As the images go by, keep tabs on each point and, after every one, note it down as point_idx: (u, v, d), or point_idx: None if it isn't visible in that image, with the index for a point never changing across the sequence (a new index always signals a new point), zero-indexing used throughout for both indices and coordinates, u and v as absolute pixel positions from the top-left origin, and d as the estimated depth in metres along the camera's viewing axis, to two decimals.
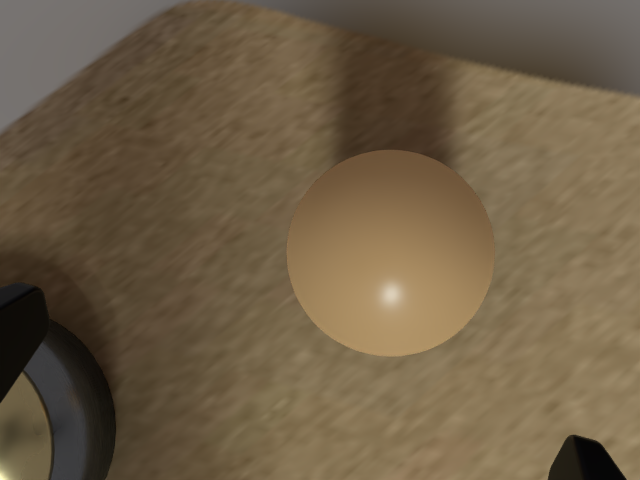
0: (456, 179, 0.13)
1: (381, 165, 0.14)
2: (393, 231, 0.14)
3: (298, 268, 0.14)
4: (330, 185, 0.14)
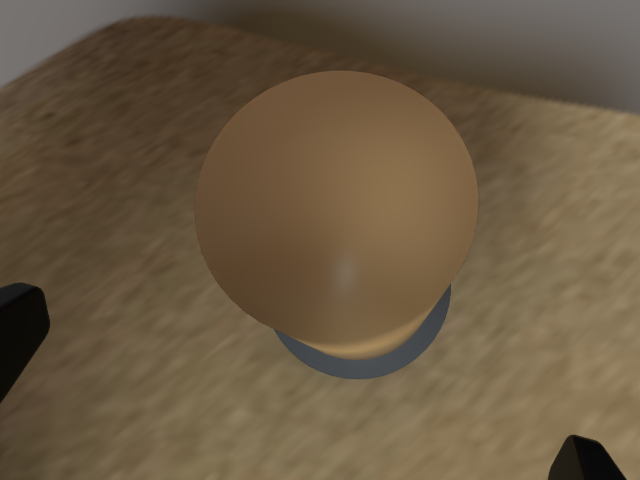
0: (423, 103, 0.10)
1: (326, 89, 0.10)
2: (340, 170, 0.10)
3: (210, 221, 0.10)
4: (258, 115, 0.11)
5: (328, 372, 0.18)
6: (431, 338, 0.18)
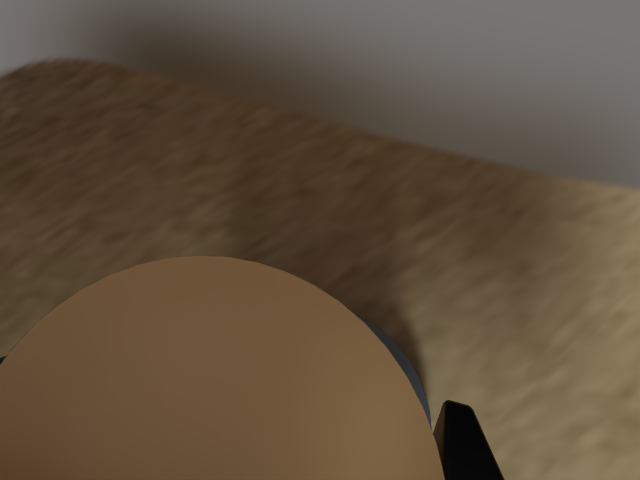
0: (352, 327, 0.06)
1: (184, 292, 0.06)
2: (199, 454, 0.06)
3: None
4: (66, 336, 0.06)
5: None
6: None
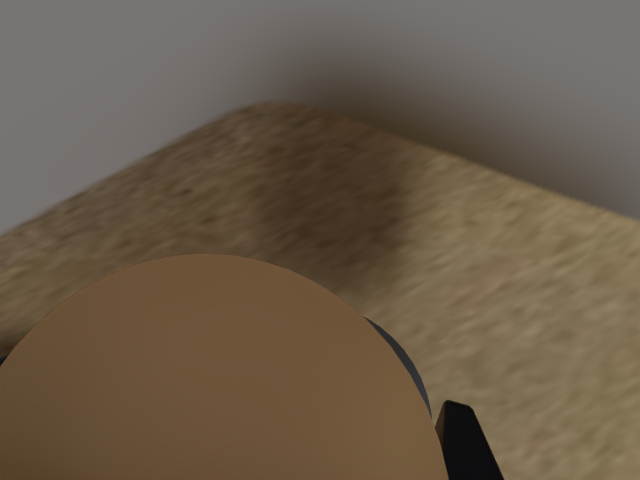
0: (355, 325, 0.06)
1: (187, 289, 0.06)
2: (202, 451, 0.06)
3: None
4: (68, 333, 0.06)
5: None
6: None
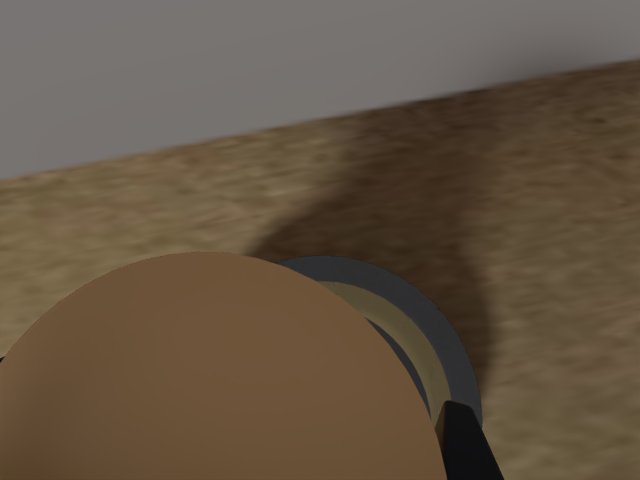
0: (353, 323, 0.06)
1: (185, 288, 0.06)
2: (200, 450, 0.06)
3: None
4: (67, 332, 0.06)
5: None
6: None
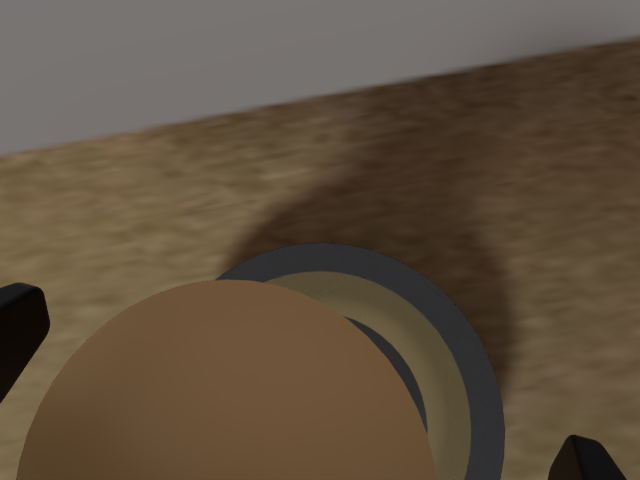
0: (358, 341, 0.07)
1: (215, 310, 0.07)
2: (231, 447, 0.07)
3: None
4: (115, 347, 0.07)
5: None
6: None
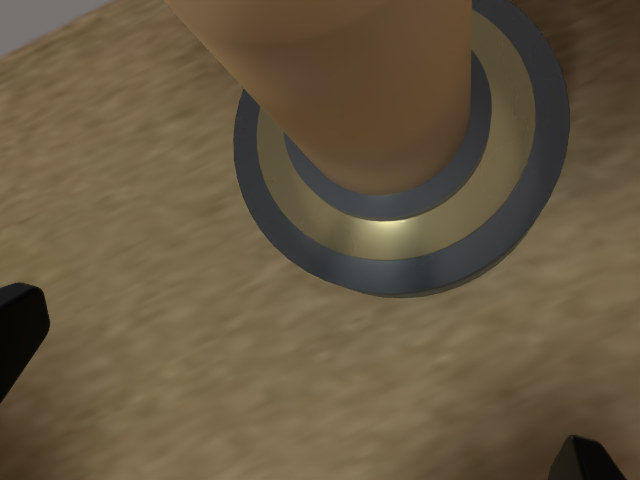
0: None
1: None
2: None
3: None
4: None
5: (370, 213, 0.16)
6: (479, 150, 0.16)
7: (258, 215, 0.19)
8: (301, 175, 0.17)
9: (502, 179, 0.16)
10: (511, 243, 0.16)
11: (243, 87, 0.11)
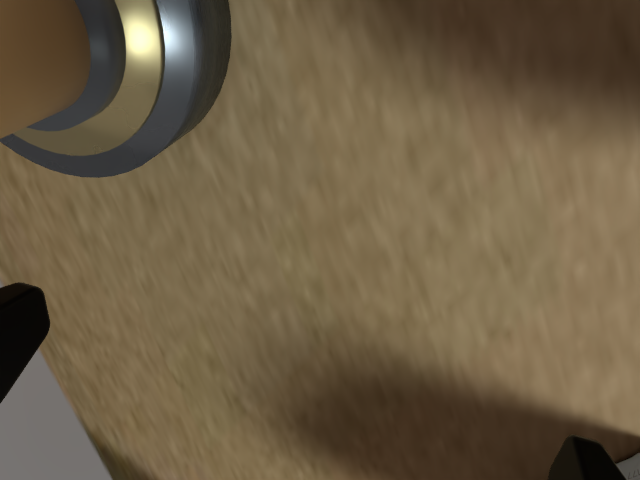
0: None
1: None
2: None
3: None
4: None
5: (106, 63, 0.17)
6: None
7: (128, 165, 0.20)
8: (78, 122, 0.18)
9: None
10: None
11: None
